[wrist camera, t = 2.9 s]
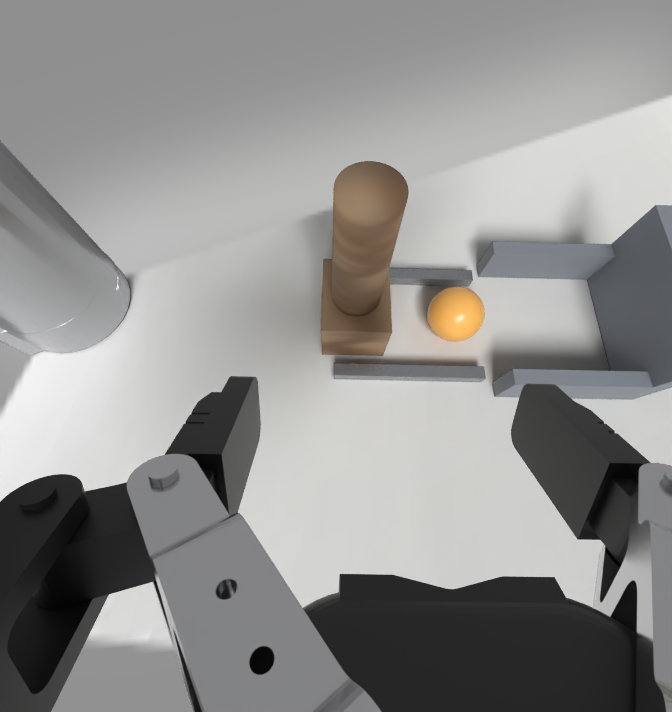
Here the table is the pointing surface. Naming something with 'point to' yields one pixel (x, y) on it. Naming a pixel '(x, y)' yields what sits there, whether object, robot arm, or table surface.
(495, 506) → the table surface
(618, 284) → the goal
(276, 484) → the table surface
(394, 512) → the table surface
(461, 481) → the table surface
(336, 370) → the track
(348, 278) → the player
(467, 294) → the ball
